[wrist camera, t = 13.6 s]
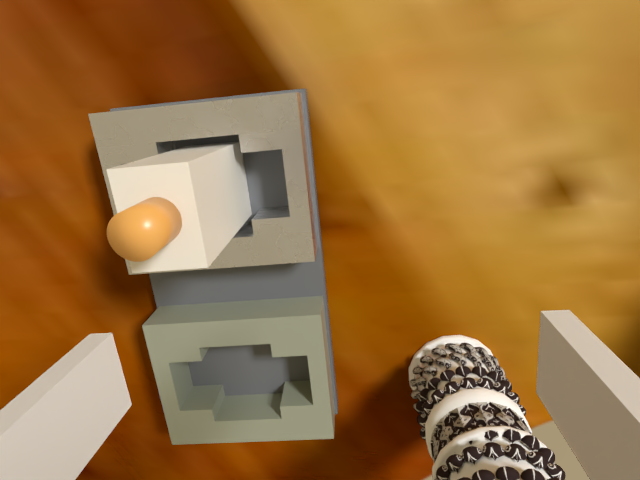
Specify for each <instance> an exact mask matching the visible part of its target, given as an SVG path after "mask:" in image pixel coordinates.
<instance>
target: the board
mask: <svg viewBox="0 0 640 480" xmlns="http://www.w3.org/2000/svg"><path fill="white" fill-rule="evenodd" d="M294 92H298V93H302V101H303V111H304V120H305V130H306V140H307V149H308V159H309V168H310V178H311V188H312V197H313V207H314V216H315V226H316V236H317V245H318V248H317V253H316V258H315V262H301V263H287V264H273V265H259V266H245V267H231V268H217V269H203V270H189V271H175V272H161V273H149V277H150V281H151V285H152V289H153V293H154V298H155V302H156V306H157V308H158V307H159V306H173V305H188V304H204V303H219V302H235V301H250V300H266V299H281V298H297V297H312V296H323V302H324V311H325V321H326V330H327V340H328V350H329V359H330V369H331V379H332V388H333V398H334V407H335V414H338V399H337V389H336V379H335V370H334V360H333V350H332V340H331V330H330V320H329V310H328V300H327V290H326V280H325V270H324V260H323V250H322V241H321V231H320V221H319V211H318V201H317V191H316V181H315V171H314V161H313V151H312V141H311V131H310V121H309V112H308V102H307V92H306V89H296V90H286V91H277V92H267V93H258V94H248V95H239V96H229V97H220V98H210V99H201V100H191V101H182V102H172V103H163V104H153V105H143V106H134V107H124V108H115V109H110V112H112V111H122V110H131V109H141V108H150V107H160V106H170V105H179V104H189V103H198V102H208V101H217V100H227V99H237V98H246V97H256V96H265V95H275V94H284V93H294ZM237 141H239V135H238V134H237V135H227V136H217V137H207V138H196V139H186V140H176V141H175V146H176V149H179V148H182V147H186V146H196V145H206V144H217V143H227V142H237ZM243 159H244V166H245V172H246V179H247V186H248V192H249V199H250V206H251V212H252V215H251V216H250V217H249V218H248V220H247V221H246V222H245V223H244V224H243V225H252V219H253V217H254V216H255V215H256V213H257V212H258V211H259V210H260V209H263V208H275V207H287V206H289V204H288V196H287V188H286V179H285V171H284V163H283V155H282V149H278V150H267V151H257V152H246V153H243ZM188 365H189V370H190V374H191V379H192V383H193V386H203V385H223V388H224V393H225V396H231V395H253V394H275V393H283V389H284V384H285V382H286V381H306V380H310V374H309V366H308V358H307V356H288V357H272V352H271V345H270V344H258V345H240V346H222V347H209V349H208V351H207V353H206V354H205V356H204V358H203V360H202V361H194V362H188Z"/></svg>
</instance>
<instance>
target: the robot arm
mask: <svg viewBox="0 0 640 480" xmlns="http://www.w3.org/2000/svg"><path fill="white" fill-rule="evenodd" d="M536 393H537V395H538V396H539V398H540V399H541V401H542V403H543V404H544V406H545V407H546V409H547V411H548V412H549V414H550V416H551V417H552V419H553V420H554V422H555V424H556V425H557V427H558V428H559V430H560V432H561V433H562V435H563V436H564V438H565V440H566V441H567V443H568V445H569V446H570V448H571V450H572V451H573V453H574V454H575V456H576V458H577V459H578V461H579V462H580V464H581V466H582V467H583V469H584V470H585V472H586V474H587V475H588V477H589V479H590V480H640V378H639V377H638V376H637V375H636V374H635V373H634V372H633V371H632V370H631V369H629V368H628V367H627V366H626V365H625V364H624V363H623V362H622V361H621V360H620V359H619V358H618V357H617V356H616V355H615V354H614V353H613V352H612V351H611V350H610V349H609V348H608V347H607V346H606V345H605V344H604V343H603V342H602V341H601V340H600V339H599V338H598V337H597V336H596V335H594V334H593V333H592V332H591V331H590V330H589V329H588V328H587V327H586V326H585V325H584V324H583V323H582V322H581V321H580V320H579V319H578V318H577V317H576V316H575V315H574V314H573V313H572V312H571V311H570V310H554V311H541V316H540V334H539V352H538V370H537V388H536ZM131 405H132V403H131V400H130V396H129V392H128V389H127V385H126V382H125V378H124V374H123V371H122V367H121V363H120V360H119V356H118V353H117V349H116V345H115V342H114V338H113V335H112V333H99V334H89V335H88V336H87V337H86V338H85V339H83V340H82V341H81V342H80V343H79V344H77V345H76V346H75V347H74V348H73V349H72V350H70V351H69V352H68V353H67V354H66V355H65V356H63V357H62V358H61V359H60V360H59V361H58V362H56V363H55V364H54V365H53V366H52V367H50V368H49V369H48V370H47V371H46V372H45V373H43V374H42V375H41V376H40V377H39V378H38V379H36V380H35V381H34V382H33V383H32V384H31V385H29V386H28V387H27V388H26V389H25V390H23V391H22V392H21V393H20V394H19V395H18V396H16V397H15V398H14V399H13V400H12V401H11V402H9V403H8V404H7V405H6V406H5V407H4V408H2V409H1V410H0V480H75V479H76V478H77V477H78V475H79V474H80V473H81V471H82V470H83V469H84V467H85V466H86V465H87V463H88V462H89V461H90V459H91V458H92V457H93V455H94V454H95V453H96V452H97V450H98V449H99V448H100V446H101V445H102V444H103V442H104V441H105V440H106V438H107V437H108V436H109V434H110V433H111V432H112V430H113V429H114V428H115V426H116V425H117V424H118V422H119V421H120V420H121V418H122V417H123V416H124V414H125V413H126V412H127V411H128V409H129V408H130V407H131Z"/></svg>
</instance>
